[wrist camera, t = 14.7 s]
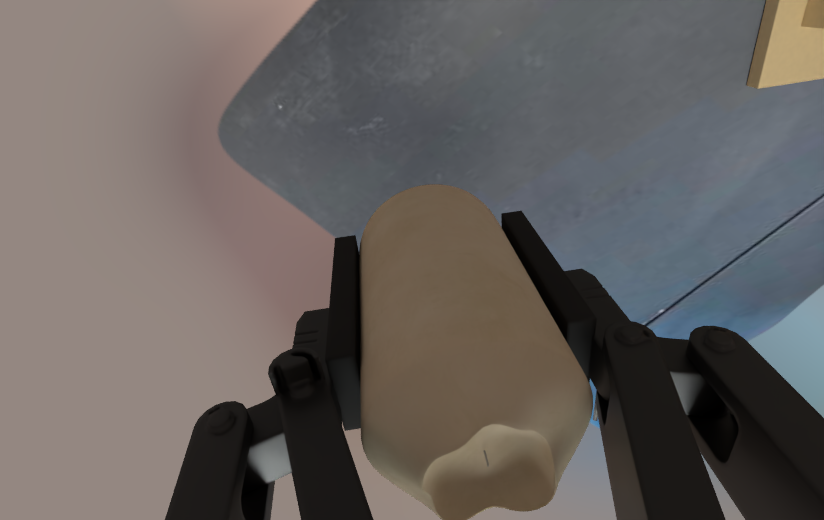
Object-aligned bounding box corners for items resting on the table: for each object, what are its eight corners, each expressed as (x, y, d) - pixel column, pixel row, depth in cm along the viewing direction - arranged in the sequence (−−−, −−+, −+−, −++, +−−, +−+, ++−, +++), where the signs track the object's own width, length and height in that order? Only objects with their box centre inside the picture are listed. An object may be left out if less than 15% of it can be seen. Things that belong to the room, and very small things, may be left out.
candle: (528, 229, 18) (677, 451, 10) (442, 324, 20) (504, 576, 12) (414, 152, 16) (478, 349, 8) (331, 267, 18) (310, 521, 10)
